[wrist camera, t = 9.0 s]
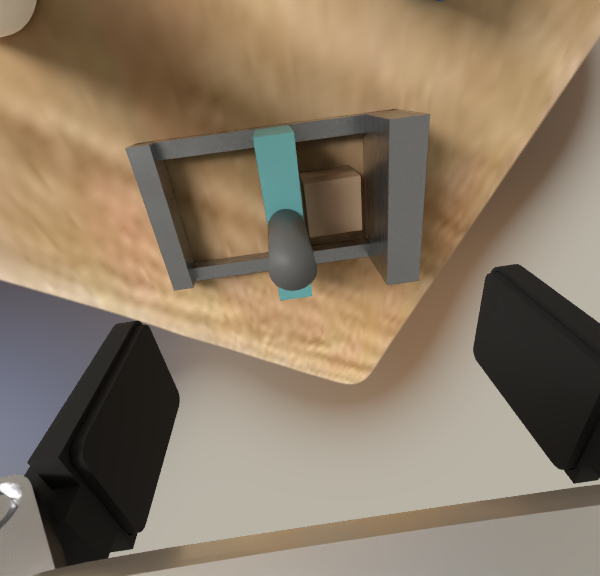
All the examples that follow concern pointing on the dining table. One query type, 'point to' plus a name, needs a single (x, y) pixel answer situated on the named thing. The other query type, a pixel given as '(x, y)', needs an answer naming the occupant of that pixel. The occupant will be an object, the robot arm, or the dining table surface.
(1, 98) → the dining table surface
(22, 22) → the alcohol
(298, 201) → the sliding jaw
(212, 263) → the vise bed
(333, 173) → the walnut block
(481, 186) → the dining table surface
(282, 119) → the dining table surface
